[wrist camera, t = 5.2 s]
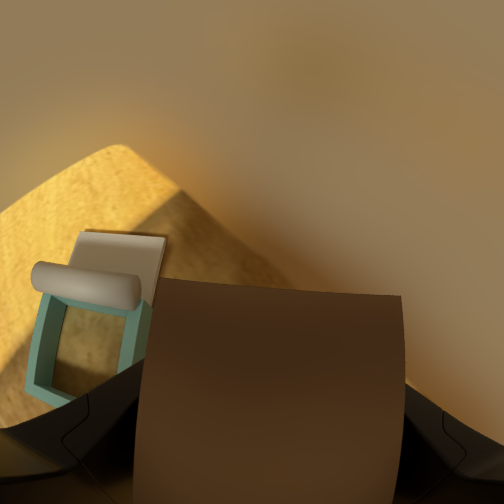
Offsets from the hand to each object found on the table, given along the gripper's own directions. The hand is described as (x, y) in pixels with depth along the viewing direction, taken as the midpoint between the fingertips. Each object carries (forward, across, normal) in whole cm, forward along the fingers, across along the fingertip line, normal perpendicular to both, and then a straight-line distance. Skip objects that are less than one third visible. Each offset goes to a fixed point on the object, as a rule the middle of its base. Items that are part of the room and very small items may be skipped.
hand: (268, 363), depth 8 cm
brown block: (+4, 0, +6) cm, 7 cm away
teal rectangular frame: (+10, +13, +7) cm, 18 cm away
